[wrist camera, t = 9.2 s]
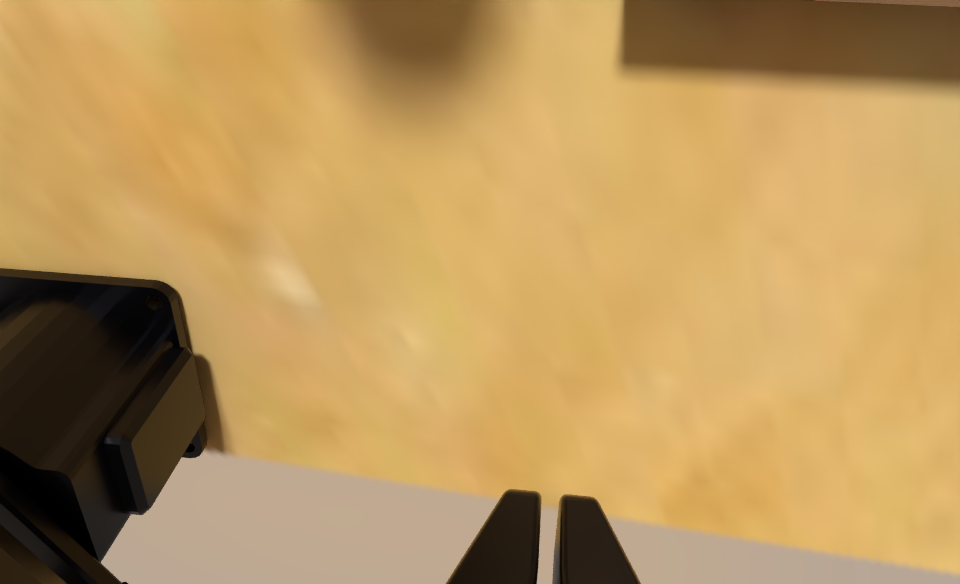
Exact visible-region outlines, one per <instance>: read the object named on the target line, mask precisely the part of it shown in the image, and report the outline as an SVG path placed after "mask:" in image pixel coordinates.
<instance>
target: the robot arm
mask: <svg viewBox="0 0 960 584" xmlns="http://www.w3.org/2000/svg"><path fill="white" fill-rule="evenodd" d="M152 295H154V296H157V297H158V298H160V299H161V301H162V303H161V302H158V301H156V300H155V299H154V298H153V296H152ZM205 417H206V413H205V408H204V403H203V398H202V394H201V389H200V384H199V379H198V374H197V370H196V365H195V360H194V356H193V354H192V353H191V351H190V350H189V348H188V347H187V342H186V337H185V332H184V328H183V323H182V318H181V314H180V309H179V304H178V299H177V296H176V293H175V291H174V290H173V289H172V288H171V287H170V286H169V285H168V284H166V283H164V282H161V281H157V280H145V279H132V278H120V277H107V276H94V275H81V274H68V273H55V272H42V271H29V270H16V269H3V268H0V584H128V583H127V582H122V583H121V582H120V581H119V580H118V579H117V578H116V577H115V576H114V575H113V574H112V573H110V571H108V570H107V569H106V568H105V567H104V566H103V565H102V564H101V561H102V559H103V558H104V556H105V555H106V553H107V551H108V550H109V548H110V547H111V545H112V543H113V542H114V540H115V538H116V537H117V535H118V534H119V532H120V531H121V529H122V528H123V526H124V524H125V523H126V521H127V520H128V518H129V516H130V515H131V514H136V515H143V514H144V513H145V512H146V511H147V510H149V509H150V508H151V506H152V505H153V503H154V502H155V500H156V498H157V496H158V495H159V493H160V492H161V490H162V488H163V487H164V485H165V484H166V482H167V480H168V479H169V477H170V475H171V474H172V472H173V470H174V469H175V467H176V465H177V464H178V462H179V460H180V459H181V457H185V458H196V457H197V456H200V454H201V453H202V451H203V450H204V448H205V446H206V445H207V436H206V432H205V427H204V422H203V421H204V419H205ZM190 442H191V443H190ZM540 517H541V495H540V494H539V493H538V492H536V491H526V490H516V489H509V490H507V491H506V492H505V493H504V494H503V495H502V497H501V498H500V500H499V501H498V503H497V504H496V506H495V508H494V509H493V511H492V512H491V514H490V516H489V517H488V519H487V520H486V522H485V523H484V525H483V526H482V528H481V530H480V531H479V533H478V534H477V536H476V538H475V539H474V540H473V542H472V544H471V545H470V547H469V548H468V550H467V551H466V553H465V555H464V556H463V558H462V559H461V561H460V562H459V564H458V565H457V567H456V569H455V570H454V572H453V573H452V575H451V577H450V578H449V580H448V581H447V583H446V584H537V573H538V558H539V537H540ZM553 584H641V583H640V581H639V579H638V577H637V575H636V573H635V571H634V570H633V568H632V566H631V564H630V562H629V560H628V558H627V556H626V554H625V552H624V550H623V548H622V546H621V544H620V543H619V541H618V539H617V537H616V535H615V533H614V531H613V529H612V527H611V525H610V523H609V521H608V519H607V517H606V516H605V514H604V512H603V510H602V508H601V506H600V504H599V503H598V501H597V500H596V499H595V498H593V497H588V496H578V495H563V496H562V497H561V498H560V502H559V511H558V520H557V530H556V539H555V550H554V565H553Z"/></svg>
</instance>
